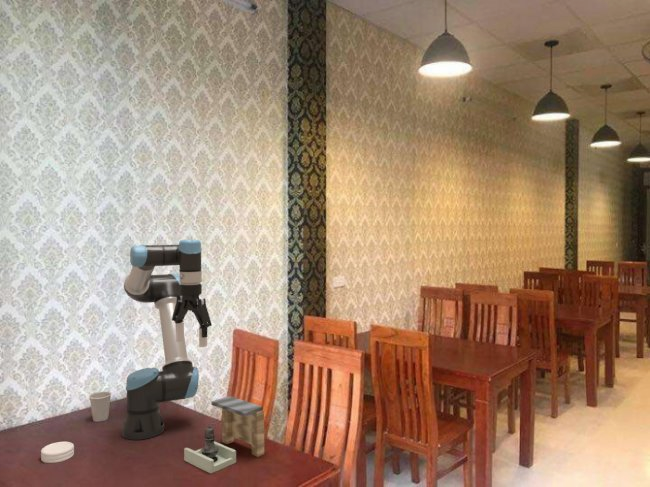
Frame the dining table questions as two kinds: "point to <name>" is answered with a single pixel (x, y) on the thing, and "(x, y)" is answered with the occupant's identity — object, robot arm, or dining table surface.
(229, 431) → the checkered stool block
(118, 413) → the dining table surface
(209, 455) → the dark grey tall piece
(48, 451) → the coaster
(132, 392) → the robot arm
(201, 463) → the pale green tray
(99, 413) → the dixie cup
